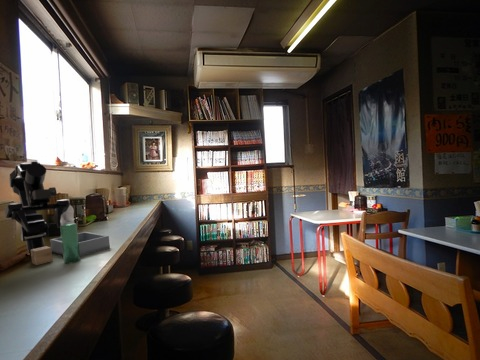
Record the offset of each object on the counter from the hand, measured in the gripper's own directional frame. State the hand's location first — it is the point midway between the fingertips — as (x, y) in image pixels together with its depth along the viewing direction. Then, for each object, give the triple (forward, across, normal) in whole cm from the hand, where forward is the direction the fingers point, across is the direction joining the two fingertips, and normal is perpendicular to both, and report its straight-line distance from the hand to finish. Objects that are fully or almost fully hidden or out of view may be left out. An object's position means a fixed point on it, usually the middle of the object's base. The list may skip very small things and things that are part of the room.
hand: (43, 229), depth 103 cm
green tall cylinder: (+14, +6, 0) cm, 15 cm away
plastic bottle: (-7, +19, +33) cm, 38 cm away
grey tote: (+6, +14, +12) cm, 20 cm away
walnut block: (+9, 0, +9) cm, 13 cm away
